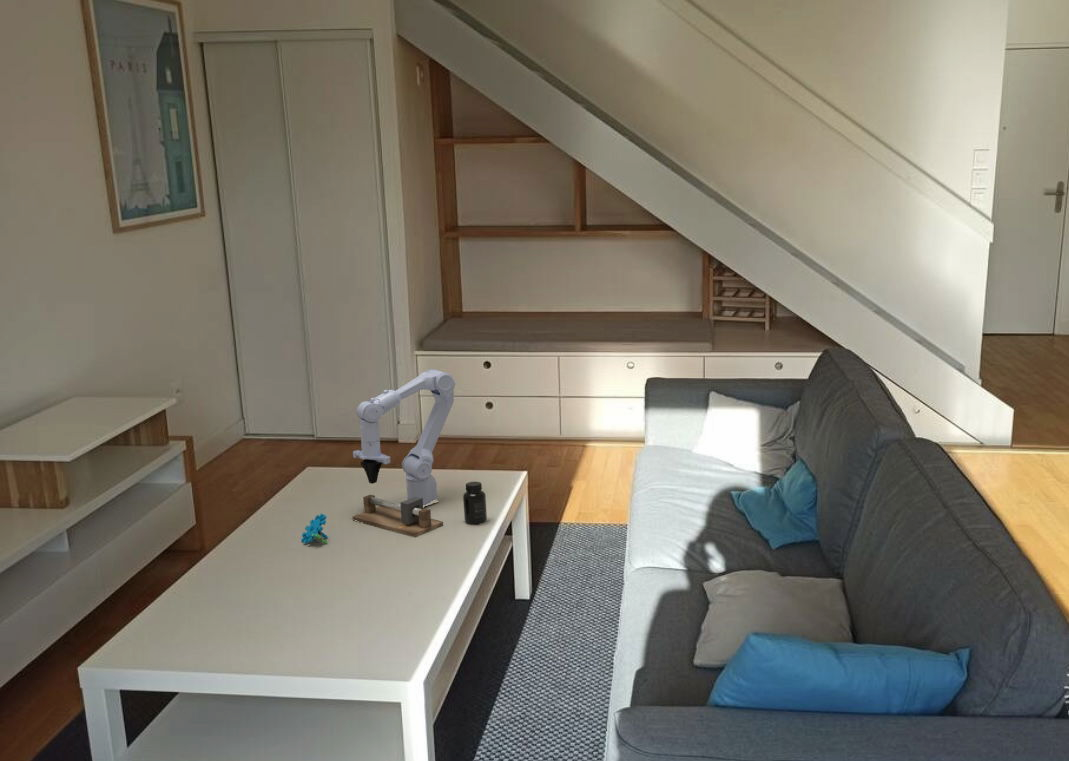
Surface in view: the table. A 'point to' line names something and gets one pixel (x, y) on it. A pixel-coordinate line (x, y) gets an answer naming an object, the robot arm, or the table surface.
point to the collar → (410, 510)
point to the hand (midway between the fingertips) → (373, 482)
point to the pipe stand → (395, 517)
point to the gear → (315, 530)
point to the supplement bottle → (474, 504)
